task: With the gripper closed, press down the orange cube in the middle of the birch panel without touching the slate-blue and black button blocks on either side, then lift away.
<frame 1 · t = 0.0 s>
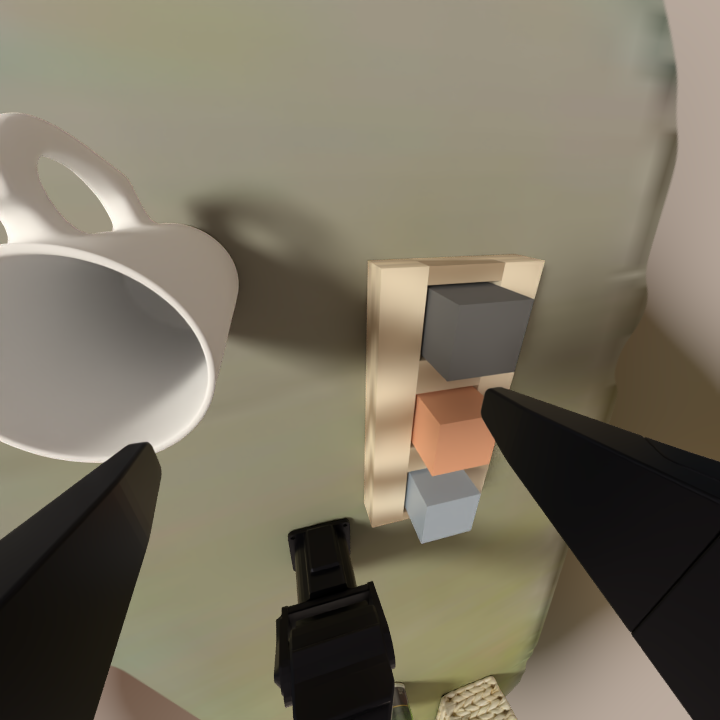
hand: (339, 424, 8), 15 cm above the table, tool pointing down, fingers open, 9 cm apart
orange cube: (449, 424, 25), point 4 cm above the table, slide at 0.0 cm
coffee can: (379, 693, 61), on the table
black button: (467, 327, 21), point 4 cm above the table, slide at 0.0 cm
birch panel: (427, 397, 28), on the table
storage basket: (461, 697, 78), on the table
slate button: (436, 495, 29), point 4 cm above the table, slide at 0.0 cm
mug: (173, 250, 18), on the table
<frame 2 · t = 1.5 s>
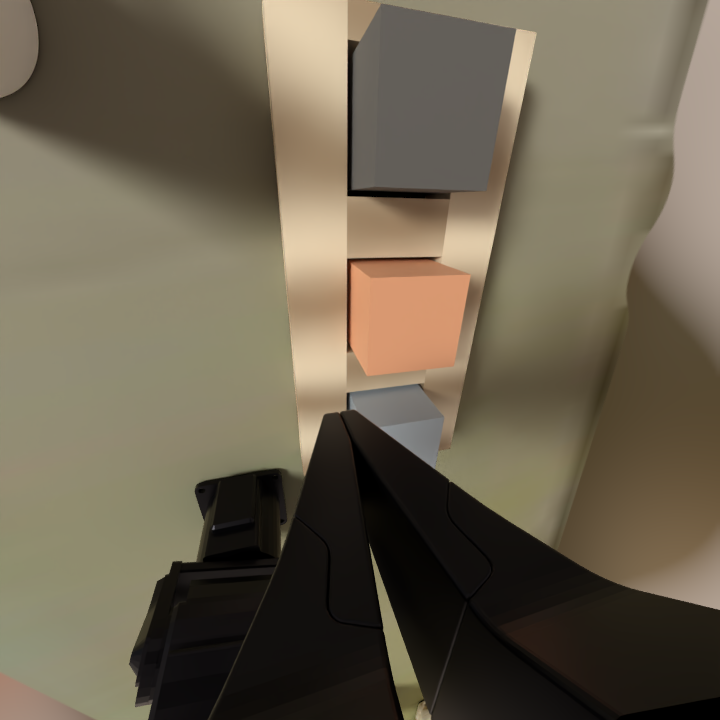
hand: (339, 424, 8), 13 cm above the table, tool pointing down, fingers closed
orange cube: (398, 311, 17), point 4 cm above the table, slide at 0.0 cm
black button: (414, 125, 13), point 4 cm above the table, slide at 0.0 cm
birch panel: (377, 293, 21), on the table
storage basket: (442, 704, 70), on the table
slate button: (388, 429, 21), point 4 cm above the table, slide at 0.0 cm
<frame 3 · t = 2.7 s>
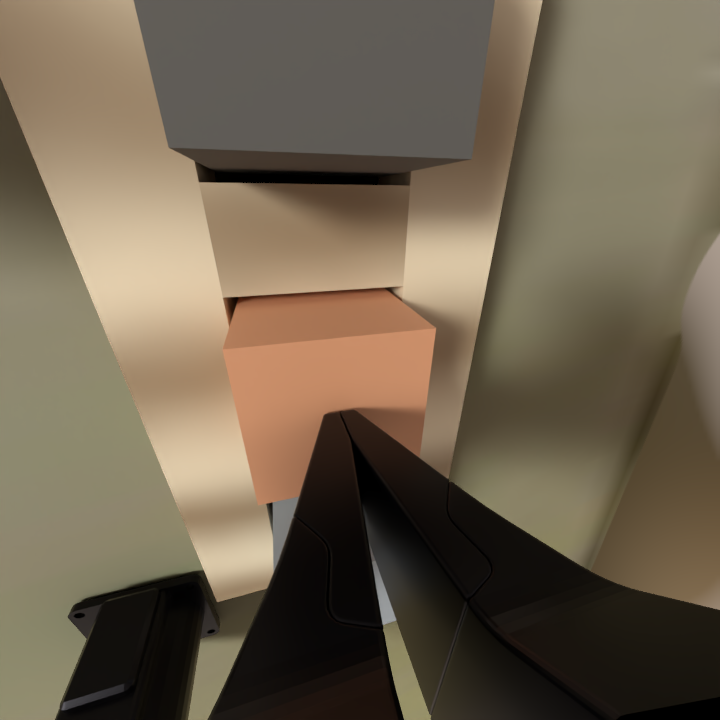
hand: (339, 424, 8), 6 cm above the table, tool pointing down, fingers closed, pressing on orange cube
orange cube: (325, 376, 10), point 4 cm above the table, slide at 0.5 cm, touching gripper
black button: (309, 17, 6), point 4 cm above the table, slide at 0.0 cm
birch panel: (313, 337, 13), on the table
slate button: (336, 542, 14), point 4 cm above the table, slide at 0.0 cm
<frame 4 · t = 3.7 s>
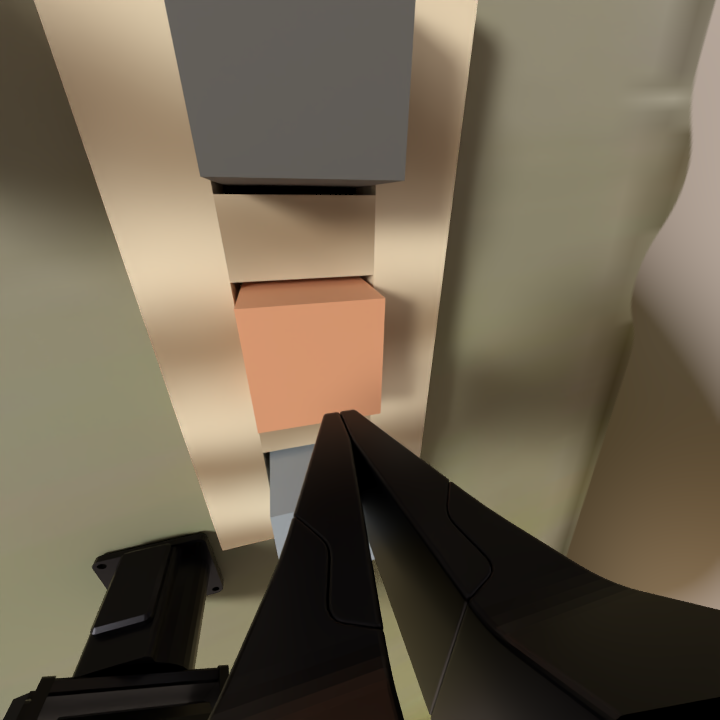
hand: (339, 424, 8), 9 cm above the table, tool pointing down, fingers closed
orange cube: (310, 342, 13), point 3 cm above the table, slide at 1.1 cm
black button: (293, 80, 9), point 4 cm above the table, slide at 0.0 cm
birch panel: (304, 320, 16), on the table
slate button: (324, 495, 16), point 4 cm above the table, slide at 0.0 cm
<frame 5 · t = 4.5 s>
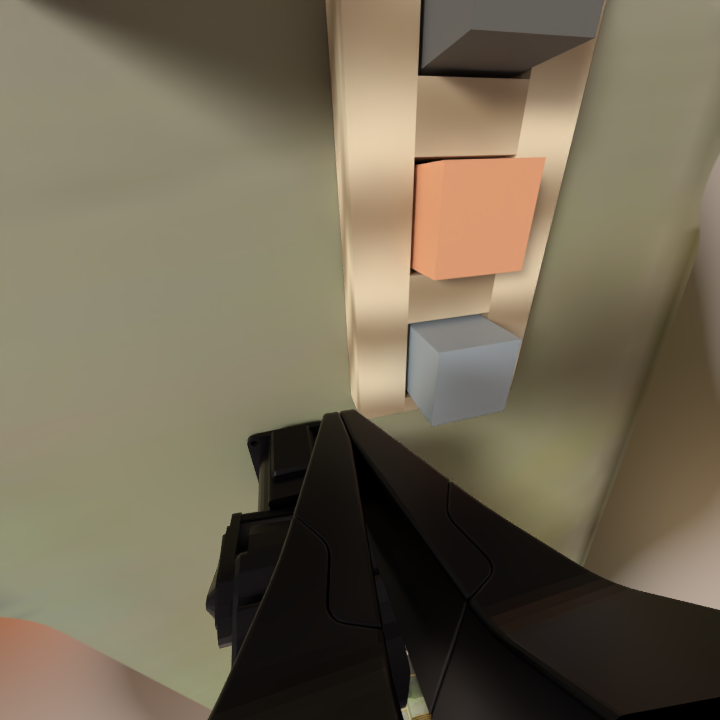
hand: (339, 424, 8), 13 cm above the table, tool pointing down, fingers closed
orange cube: (459, 218, 17), point 3 cm above the table, slide at 1.1 cm
coffee can: (391, 663, 54), on the table
birch panel: (434, 214, 19), on the table
slate button: (452, 363, 20), point 4 cm above the table, slide at 0.0 cm
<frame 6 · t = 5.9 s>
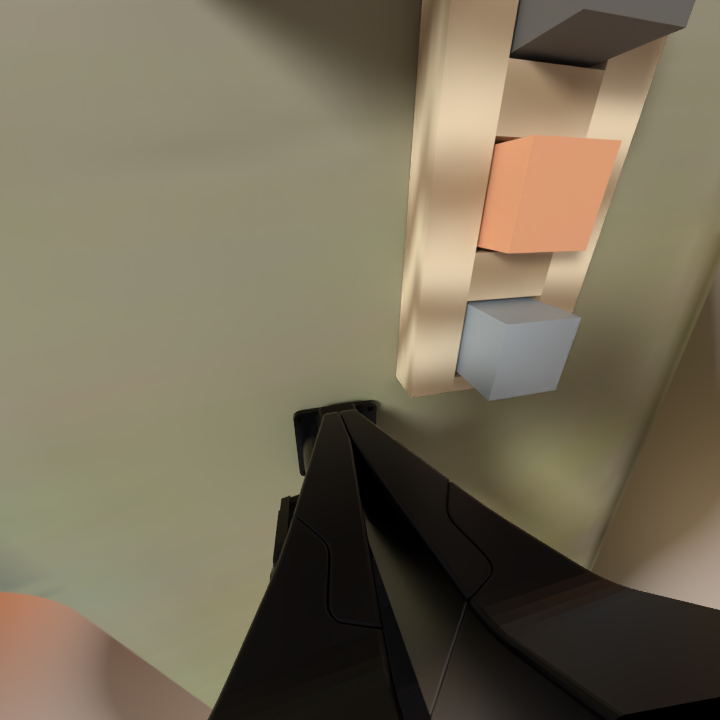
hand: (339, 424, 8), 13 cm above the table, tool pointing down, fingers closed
orange cube: (526, 199, 17), point 3 cm above the table, slide at 1.1 cm
birch panel: (494, 199, 20), on the table
slate button: (505, 343, 20), point 4 cm above the table, slide at 0.0 cm
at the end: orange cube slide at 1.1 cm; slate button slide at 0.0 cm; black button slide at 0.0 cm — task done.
